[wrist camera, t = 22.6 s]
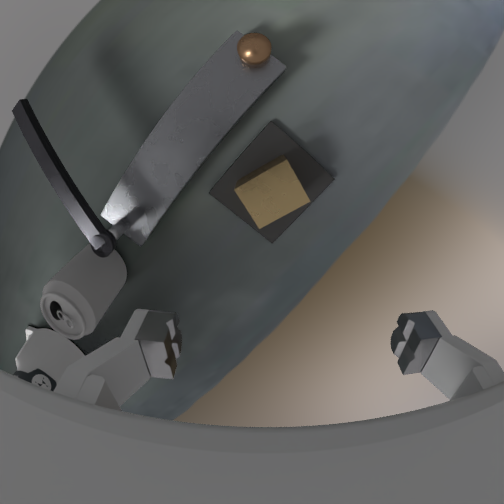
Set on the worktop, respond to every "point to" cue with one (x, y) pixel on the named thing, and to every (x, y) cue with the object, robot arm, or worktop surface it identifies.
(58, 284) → the can
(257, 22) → the worktop surface
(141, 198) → the body
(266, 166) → the brown wooden block
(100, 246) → the lever
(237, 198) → the mat
